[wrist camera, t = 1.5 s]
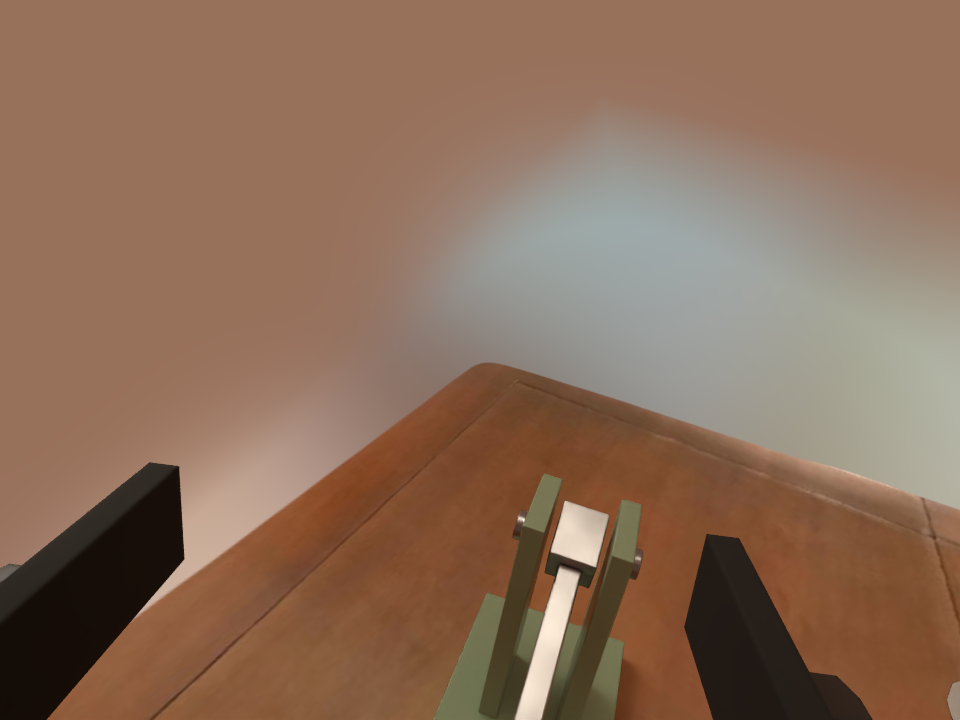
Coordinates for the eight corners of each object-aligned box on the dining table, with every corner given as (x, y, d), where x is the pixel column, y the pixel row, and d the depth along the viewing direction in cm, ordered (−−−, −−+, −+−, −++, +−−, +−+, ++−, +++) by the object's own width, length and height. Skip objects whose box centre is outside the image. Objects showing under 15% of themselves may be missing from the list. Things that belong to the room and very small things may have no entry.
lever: (573, 867, 24) (582, 864, 22) (423, 800, 25) (419, 792, 23) (639, 549, 32) (650, 527, 30) (523, 510, 33) (527, 487, 31)
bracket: (591, 857, 29) (679, 648, 24) (411, 778, 31) (451, 566, 25) (619, 655, 40) (685, 475, 34) (483, 605, 42) (523, 426, 36)
